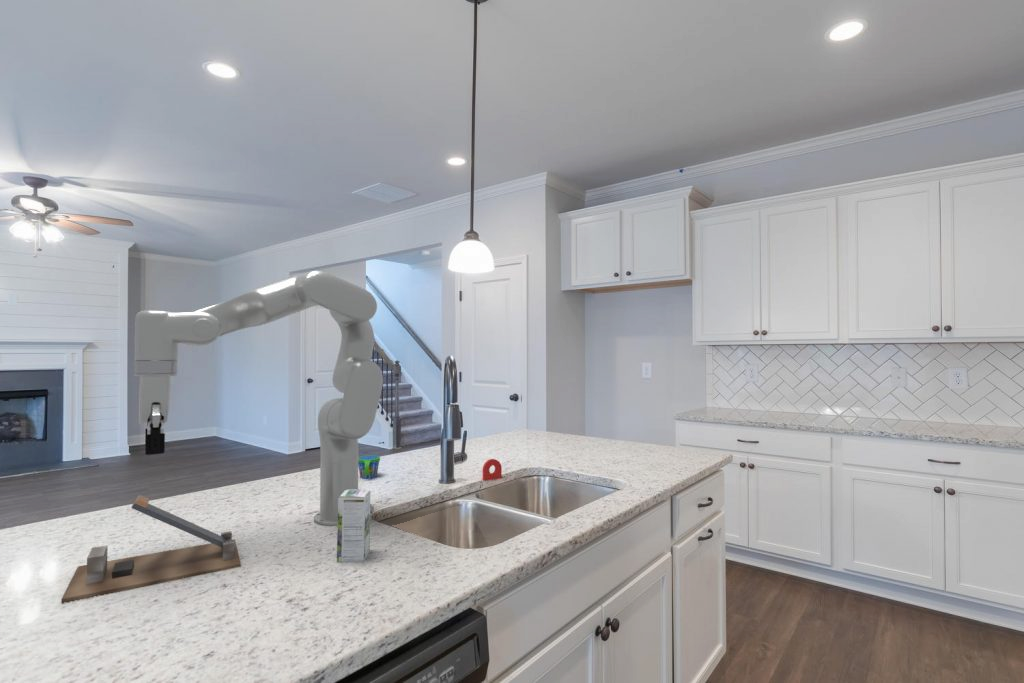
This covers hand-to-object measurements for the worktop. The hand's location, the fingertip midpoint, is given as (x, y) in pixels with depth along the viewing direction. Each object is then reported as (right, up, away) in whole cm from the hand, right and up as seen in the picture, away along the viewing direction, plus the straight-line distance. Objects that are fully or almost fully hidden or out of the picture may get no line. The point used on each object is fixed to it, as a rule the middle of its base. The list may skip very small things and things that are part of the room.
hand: (154, 450), depth 109 cm
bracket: (+72, -25, +65) cm, 100 cm away
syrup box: (+42, -24, +1) cm, 48 cm away
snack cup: (+26, -25, +70) cm, 78 cm away
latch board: (+4, -24, -4) cm, 24 cm away
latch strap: (+7, -16, -2) cm, 18 cm away
